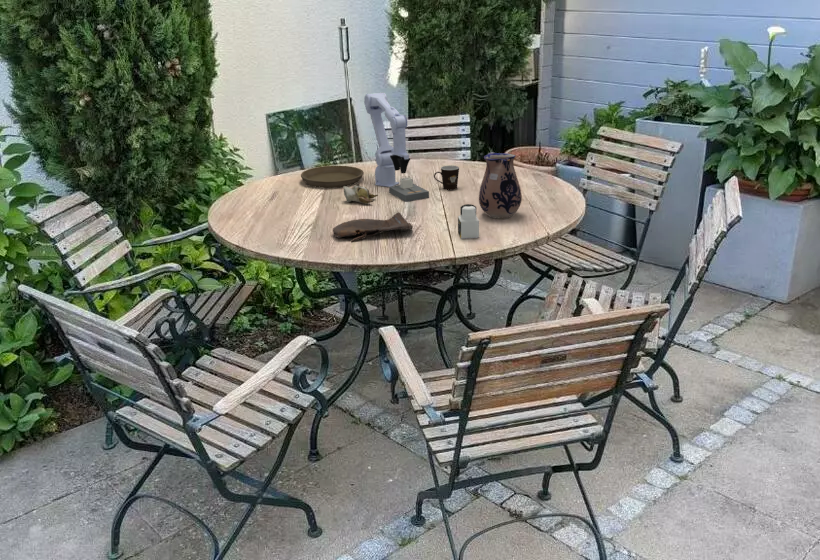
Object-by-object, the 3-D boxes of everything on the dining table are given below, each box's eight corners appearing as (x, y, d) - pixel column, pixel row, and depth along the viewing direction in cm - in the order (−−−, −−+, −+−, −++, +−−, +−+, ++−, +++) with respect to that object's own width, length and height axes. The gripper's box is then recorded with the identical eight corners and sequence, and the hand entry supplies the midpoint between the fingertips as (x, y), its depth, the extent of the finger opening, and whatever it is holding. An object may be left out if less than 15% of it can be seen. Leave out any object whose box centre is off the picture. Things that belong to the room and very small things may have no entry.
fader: (400, 187, 331) (400, 178, 329) (410, 185, 333) (409, 177, 331) (403, 188, 328) (402, 180, 327) (412, 187, 330) (412, 178, 329)
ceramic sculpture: (346, 179, 325) (378, 182, 323) (346, 197, 329) (378, 200, 327) (340, 186, 316) (373, 188, 314) (340, 204, 319) (372, 207, 317)
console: (389, 193, 335) (388, 186, 334) (412, 189, 340) (411, 182, 339) (405, 201, 321) (405, 195, 320) (429, 197, 326) (428, 191, 324)
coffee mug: (459, 185, 342) (459, 165, 338) (458, 191, 335) (458, 170, 331) (435, 185, 344) (435, 165, 340) (434, 191, 336) (433, 170, 332)
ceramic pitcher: (494, 224, 288) (495, 163, 278) (466, 211, 305) (466, 153, 296) (529, 217, 295) (531, 157, 286) (500, 204, 313) (501, 147, 303)
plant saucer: (376, 177, 362) (375, 168, 360) (338, 193, 338) (337, 183, 336) (327, 171, 378) (327, 162, 376) (288, 185, 354) (287, 176, 352)
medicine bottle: (457, 233, 280) (457, 203, 275) (475, 232, 281) (476, 202, 276) (460, 239, 274) (460, 208, 269) (479, 238, 274) (479, 207, 269)
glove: (335, 244, 273) (334, 232, 271) (330, 228, 291) (329, 216, 289) (417, 237, 278) (416, 225, 276) (407, 221, 296) (406, 210, 294)
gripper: (384, 140, 332) (385, 169, 338) (398, 146, 320) (399, 176, 326) (398, 138, 335) (399, 167, 340) (412, 144, 323) (413, 174, 328)
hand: (400, 171), depth 333 cm, fingers open, 6 cm apart
